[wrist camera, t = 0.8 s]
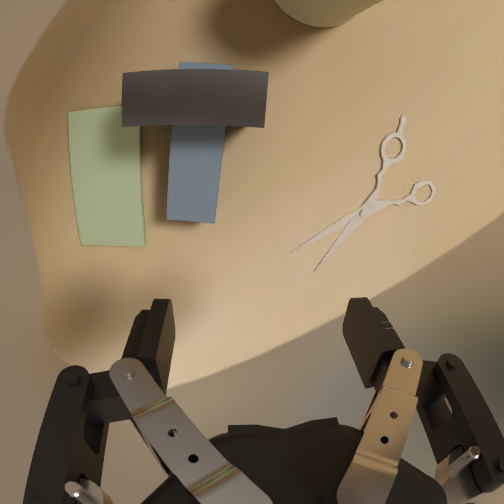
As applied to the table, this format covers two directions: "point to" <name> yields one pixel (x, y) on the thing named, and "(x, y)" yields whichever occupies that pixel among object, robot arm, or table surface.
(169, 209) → the blue slab
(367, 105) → the table surface
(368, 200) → the scissors
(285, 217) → the table surface
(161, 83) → the block arch
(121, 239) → the pad
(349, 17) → the can
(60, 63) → the table surface
